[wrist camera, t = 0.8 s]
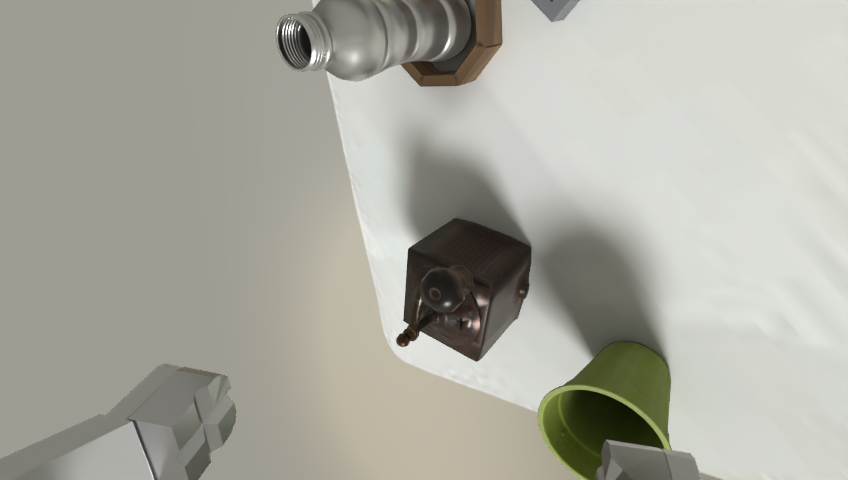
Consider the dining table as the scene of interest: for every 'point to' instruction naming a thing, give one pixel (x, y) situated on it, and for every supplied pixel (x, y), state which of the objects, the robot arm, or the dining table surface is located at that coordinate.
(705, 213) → the dining table surface
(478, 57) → the walnut collar
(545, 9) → the charcoal tray
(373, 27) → the plastic bottle
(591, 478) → the plant pot
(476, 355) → the manual coffee grinder
